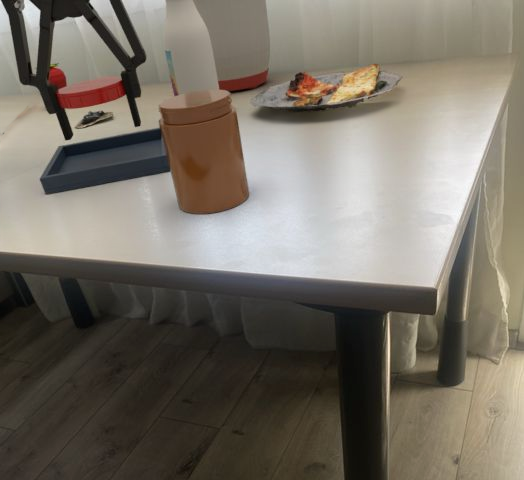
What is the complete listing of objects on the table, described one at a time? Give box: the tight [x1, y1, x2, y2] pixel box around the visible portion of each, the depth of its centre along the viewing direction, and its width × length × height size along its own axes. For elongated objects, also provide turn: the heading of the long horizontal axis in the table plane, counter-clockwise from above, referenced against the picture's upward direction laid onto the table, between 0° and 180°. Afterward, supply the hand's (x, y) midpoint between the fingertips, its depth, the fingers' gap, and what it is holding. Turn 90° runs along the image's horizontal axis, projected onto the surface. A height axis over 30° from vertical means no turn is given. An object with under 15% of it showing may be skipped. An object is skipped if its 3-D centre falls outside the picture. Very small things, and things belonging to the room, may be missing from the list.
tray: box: [39, 127, 170, 195], centre depth 75 cm, size 17×16×2 cm
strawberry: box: [34, 62, 68, 90], centre depth 116 cm, size 6×8×10 cm
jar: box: [158, 90, 250, 215], centre depth 56 cm, size 8×8×10 cm
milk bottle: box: [162, 0, 219, 97], centre depth 86 cm, size 8×8×20 cm
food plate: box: [250, 63, 404, 113], centre depth 87 cm, size 25×23×4 cm
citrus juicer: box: [193, 0, 271, 92], centre depth 103 cm, size 16×17×20 cm
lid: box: [56, 76, 126, 110], centre depth 70 cm, size 9×9×2 cm
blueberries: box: [74, 110, 114, 129], centre depth 100 cm, size 7×8×2 cm
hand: (103, 130), depth 73 cm, fingers closed on lid, 9 cm apart
